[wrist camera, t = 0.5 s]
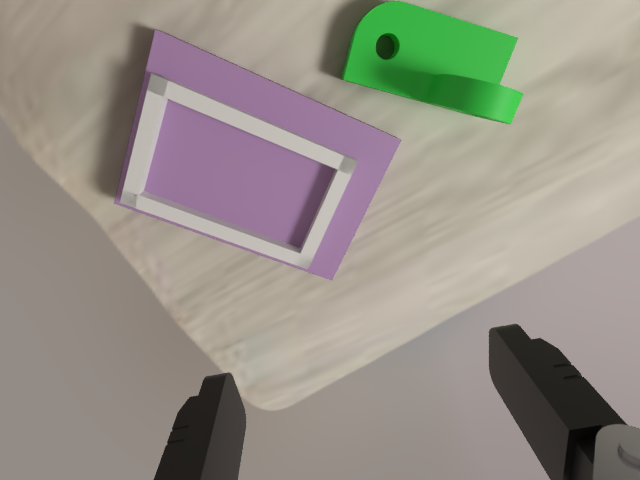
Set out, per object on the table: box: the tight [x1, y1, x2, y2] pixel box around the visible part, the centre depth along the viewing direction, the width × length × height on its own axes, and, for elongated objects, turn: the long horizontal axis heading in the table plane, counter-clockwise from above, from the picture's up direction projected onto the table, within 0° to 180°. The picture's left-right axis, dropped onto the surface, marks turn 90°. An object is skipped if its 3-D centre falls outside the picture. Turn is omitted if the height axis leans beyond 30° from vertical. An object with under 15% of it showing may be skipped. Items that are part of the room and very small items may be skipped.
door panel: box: [114, 29, 401, 280], centre depth 32 cm, size 14×20×3 cm
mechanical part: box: [341, 1, 523, 124], centre depth 27 cm, size 12×6×8 cm, turn 76°
